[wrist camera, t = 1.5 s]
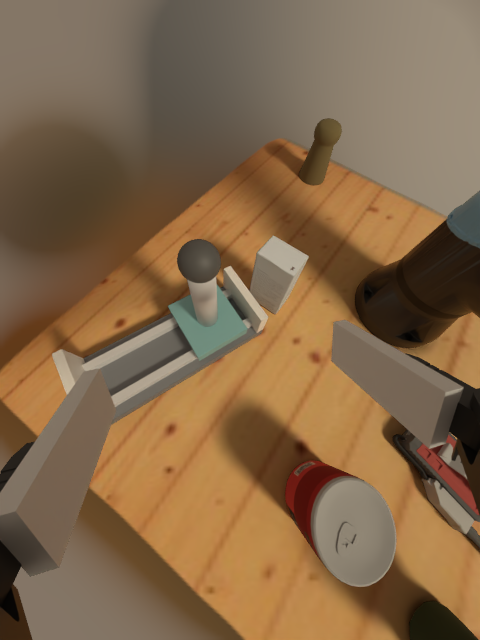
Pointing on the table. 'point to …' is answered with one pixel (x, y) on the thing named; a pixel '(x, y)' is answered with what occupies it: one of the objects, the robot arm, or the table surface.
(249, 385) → the table surface
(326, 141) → the olive pawn figure
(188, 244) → the carriage
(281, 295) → the skincare box
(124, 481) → the table surface
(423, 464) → the walkie-talkie
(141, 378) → the rail track
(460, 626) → the character mug
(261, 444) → the table surface
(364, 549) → the canned food
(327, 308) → the table surface
